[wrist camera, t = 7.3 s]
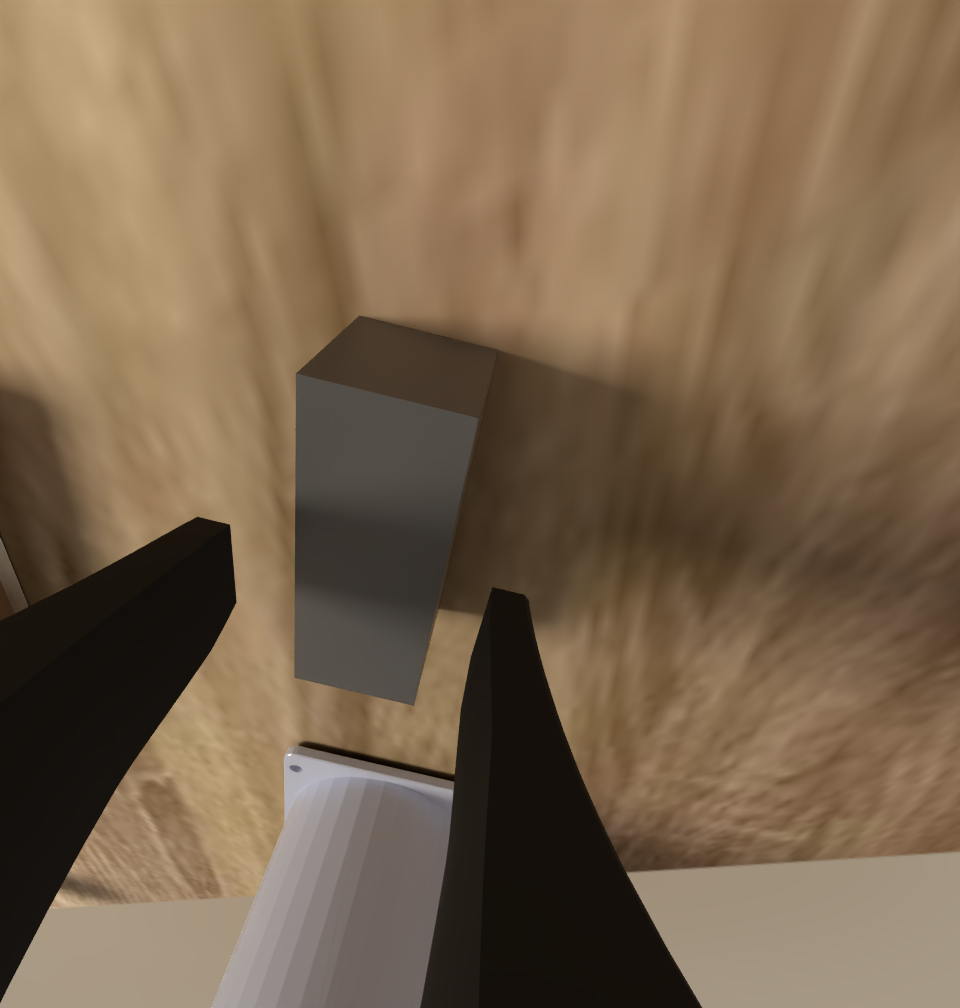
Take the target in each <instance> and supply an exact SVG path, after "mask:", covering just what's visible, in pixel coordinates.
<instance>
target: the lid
mask: <svg viewBox="0 0 960 1008" xmlns="http://www.w3.org/2000/svg"><path fill="white" fill-rule="evenodd" d="M497 354H498V350H496V349H492V348H488V347H484V346H480V345H476V344H472V343H468V342H463V341H459V340H455V339H451V338H447V337H443V336H439V335H435V334H431V333H427V332H423V331H419V330H415V329H411V328H407V327H403V326H398V325H394V324H390V323H386V322H382V321H378V320H374V319H370V318H366V317H362V316H359V317H357V318H356V319H355V320H354V321H353V322H352V323H351V324H350V325H349V326H348V327H347V328H345V329H344V330H343V331H342V332H341V333H340V334H339V335H338V336H337V337H336V338H335V339H333V340H332V341H331V342H330V343H329V344H328V345H327V346H326V347H325V348H324V349H322V350H321V351H320V352H319V353H318V354H317V355H316V356H315V357H314V358H313V359H312V360H310V361H309V362H308V363H307V364H306V365H305V366H304V367H303V368H302V369H301V370H300V371H298V372H297V373H296V496H295V678H298V679H303V680H307V681H311V682H315V683H320V684H324V685H328V686H332V687H337V688H341V689H345V690H349V691H354V692H358V693H362V694H367V695H371V696H375V697H379V698H384V699H388V700H392V701H396V702H401V703H405V704H409V705H413V706H414V703H415V699H416V695H417V691H418V687H419V683H420V679H421V675H422V671H423V667H424V663H425V660H426V656H427V652H428V648H429V644H430V640H431V636H432V632H433V628H434V624H435V620H436V617H437V613H438V609H439V604H440V600H441V596H442V591H443V587H444V583H445V578H446V574H447V570H448V565H449V561H450V557H451V552H452V548H453V544H454V540H455V535H456V531H457V527H458V522H459V518H460V514H461V509H462V505H463V501H464V496H465V492H466V488H467V483H468V479H469V475H470V470H471V466H472V462H473V457H474V453H475V449H476V444H477V440H478V436H479V431H480V427H481V423H482V418H483V414H484V410H485V405H486V401H487V397H488V392H489V388H490V384H491V379H492V375H493V371H494V367H495V362H496V358H497Z"/></svg>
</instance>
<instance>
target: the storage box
mask: <svg viewBox="0 0 960 1008" xmlns="http://www.w3.org/2000/svg"><path fill="white" fill-rule="evenodd" d="M27 607H29V606H28V604H27V601H26V599H25V596H24V594H23V591H22V589H21V587H20V584H19V582H18V579H17V577H16V574H15V572H14V569H13V567H12V565H11V562H10V560H9V557H8V555H7V552H6V550H5V547H4V545H3V542H2V540H1V538H0V621H1V620H3V619H5V618H7V617H9V616H11V615H13V614H15V613H17V612H19V611H21V610H23V609H25V608H27Z"/></svg>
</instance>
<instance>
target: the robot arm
mask: <svg viewBox="0 0 960 1008" xmlns="http://www.w3.org/2000/svg"><path fill="white" fill-rule="evenodd" d="M235 604H236V591H235V579H234V567H233V555H232V543H231V531H230V525H229V524H225V523H221V522H217V521H212V520H208V519H204V518H200V517H196V518H194V519H193V520H191V521H189V522H187V523H185V524H183V525H181V526H179V527H178V528H176V529H174V530H172V531H170V532H169V533H167V534H165V535H163V536H161V537H160V538H158V539H156V540H154V541H152V542H151V543H149V544H147V545H145V546H144V547H142V548H140V549H138V550H136V551H135V552H133V553H131V554H129V555H127V556H126V557H124V558H122V559H120V560H118V561H116V562H114V563H113V564H111V565H109V566H107V567H105V568H103V569H102V570H100V571H98V572H96V573H94V574H92V575H90V576H89V577H87V578H85V579H83V580H81V581H79V582H77V583H76V584H74V585H72V586H70V587H68V588H66V589H64V590H62V591H60V592H57V593H55V594H53V595H51V596H49V597H47V598H45V599H43V600H41V601H39V602H37V603H35V604H33V605H31V606H29V607H27V608H25V609H23V610H21V611H19V612H17V613H15V614H13V615H11V616H9V617H7V618H5V619H3V620H1V621H0V1002H1V1000H2V998H3V996H4V994H5V992H6V990H7V988H8V986H9V984H10V982H11V980H12V978H13V976H14V974H15V972H16V970H17V969H18V967H19V965H20V963H21V961H22V959H23V957H24V955H25V953H26V951H27V949H28V947H29V945H30V944H31V942H32V940H33V938H34V936H35V934H36V932H37V930H38V928H39V926H40V924H41V922H42V920H43V918H44V917H45V914H46V913H47V910H48V909H49V907H50V905H51V903H52V902H53V900H54V898H55V896H56V894H57V893H58V891H59V889H60V887H61V885H62V883H63V882H64V880H65V878H66V876H67V874H68V872H69V871H70V869H71V867H72V865H73V863H74V862H75V860H76V858H77V856H78V854H79V852H80V851H81V849H82V847H83V845H84V843H85V842H86V840H87V838H88V836H89V835H90V833H91V831H92V830H93V828H94V826H95V824H96V823H97V821H98V819H99V817H100V816H101V814H102V812H103V810H104V809H105V807H106V805H107V803H108V802H109V800H110V798H111V797H112V795H113V793H114V791H115V790H116V788H117V786H118V785H119V783H120V782H121V780H122V779H123V777H124V776H125V774H126V772H127V771H128V769H129V768H130V766H131V765H132V763H133V762H134V760H135V759H136V757H137V756H138V754H139V753H140V752H141V750H142V749H143V747H144V746H145V745H146V743H147V742H148V740H149V739H150V737H151V736H152V735H153V733H154V732H155V730H156V729H157V727H158V726H159V725H160V723H161V722H162V720H163V719H164V718H165V716H166V715H167V713H168V712H169V710H170V709H171V708H172V706H173V705H174V703H175V702H176V700H177V699H178V698H179V696H180V695H181V693H182V692H183V691H184V689H185V688H186V686H187V685H188V683H189V682H190V680H191V679H192V678H193V676H194V675H195V673H196V672H197V670H198V669H199V667H200V666H201V665H202V663H203V662H204V660H205V659H206V657H207V656H208V654H209V653H210V651H211V650H212V648H213V646H214V644H215V642H216V641H217V639H218V637H219V635H220V633H221V631H222V630H223V628H224V626H225V624H226V622H227V620H228V618H229V616H230V614H231V612H232V610H233V608H234V606H235ZM284 799H285V824H284V826H283V829H282V831H281V834H280V836H279V839H278V841H277V844H276V846H275V849H274V851H273V854H272V856H271V859H270V861H269V864H268V866H267V869H266V872H265V874H264V877H263V879H262V882H261V884H260V887H259V889H258V892H257V894H256V897H255V899H254V902H253V904H252V907H251V909H250V912H249V914H248V917H247V919H246V922H245V924H244V927H243V930H242V932H241V934H240V937H239V939H238V942H237V945H236V947H235V950H234V952H233V955H232V957H231V960H230V962H229V965H228V967H227V970H226V972H225V975H224V977H223V980H222V982H221V985H220V987H219V990H218V992H217V995H216V998H215V1000H214V1002H213V1005H212V1007H211V1008H702V1007H701V1005H700V1003H699V1002H698V1000H697V998H696V996H695V995H694V993H693V991H692V990H691V988H690V986H689V985H688V983H687V981H686V980H685V978H684V976H683V974H682V973H681V971H680V969H679V968H678V966H677V964H676V963H675V961H674V959H673V958H672V956H671V954H670V952H669V951H668V949H667V947H666V945H665V944H664V942H663V940H662V938H661V937H660V934H659V932H658V931H657V929H656V927H655V925H654V923H653V921H652V920H651V918H650V916H649V914H648V912H647V910H646V908H645V907H644V905H643V903H642V901H641V899H640V898H639V895H638V894H637V892H636V890H635V888H634V886H633V884H632V883H631V881H630V879H629V877H628V876H627V873H626V871H625V870H624V868H623V866H622V864H621V862H620V860H619V858H618V856H617V853H616V851H615V849H614V847H613V845H612V843H611V841H610V839H609V837H608V835H607V833H606V831H605V829H604V827H603V825H602V822H601V820H600V818H599V816H598V813H597V811H596V809H595V807H594V805H593V802H592V800H591V798H590V796H589V793H588V791H587V789H586V786H585V784H584V782H583V779H582V777H581V775H580V772H579V770H578V767H577V765H576V762H575V760H574V757H573V754H572V752H571V749H570V746H569V744H568V741H567V739H566V736H565V733H564V731H563V728H562V725H561V722H560V719H559V716H558V713H557V711H556V707H555V704H554V701H553V698H552V695H551V692H550V688H549V685H548V682H547V679H546V676H545V672H544V669H543V665H542V661H541V658H540V654H539V650H538V646H537V642H536V638H535V633H534V629H533V624H532V619H531V613H530V607H529V601H528V599H527V598H526V596H525V595H523V594H519V593H515V592H511V591H506V590H502V589H498V588H494V587H492V590H491V593H490V597H489V600H488V603H487V606H486V610H485V613H484V616H483V620H482V623H481V626H480V629H479V633H478V636H477V639H476V642H475V646H474V649H473V652H472V655H471V659H470V665H469V670H468V675H467V680H466V685H465V690H464V696H463V701H462V706H461V714H460V725H459V735H458V746H457V757H456V768H455V779H454V782H453V781H449V780H444V779H440V778H436V777H431V776H427V775H423V774H418V773H414V772H410V771H405V770H401V769H397V768H392V767H388V766H384V765H379V764H375V763H371V762H366V761H362V760H358V759H353V758H349V757H345V756H340V755H336V754H332V753H327V752H323V751H319V750H314V749H310V748H306V747H301V746H291V747H290V748H288V750H287V752H286V754H285V757H284Z"/></svg>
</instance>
